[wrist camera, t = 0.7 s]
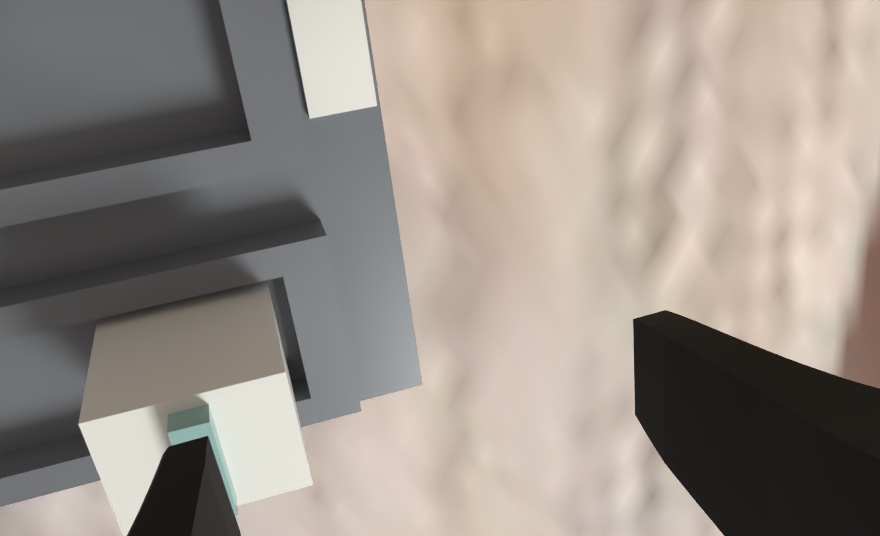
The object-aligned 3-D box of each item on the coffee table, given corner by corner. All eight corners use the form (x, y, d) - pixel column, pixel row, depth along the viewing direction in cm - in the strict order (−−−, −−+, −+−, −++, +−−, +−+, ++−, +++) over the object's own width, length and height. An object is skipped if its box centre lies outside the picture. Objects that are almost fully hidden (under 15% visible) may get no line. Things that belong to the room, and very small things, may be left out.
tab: (289, 374, 22) (316, 503, 17) (134, 413, 21) (122, 558, 17) (265, 275, 20) (289, 388, 16) (98, 312, 20) (74, 443, 15)
